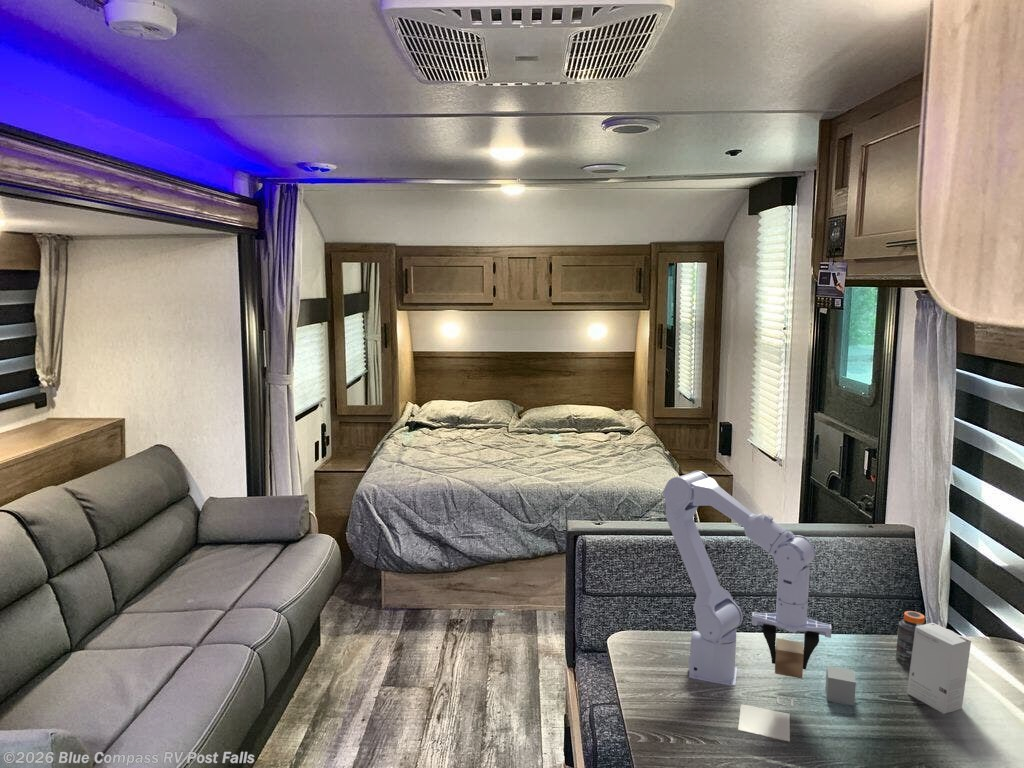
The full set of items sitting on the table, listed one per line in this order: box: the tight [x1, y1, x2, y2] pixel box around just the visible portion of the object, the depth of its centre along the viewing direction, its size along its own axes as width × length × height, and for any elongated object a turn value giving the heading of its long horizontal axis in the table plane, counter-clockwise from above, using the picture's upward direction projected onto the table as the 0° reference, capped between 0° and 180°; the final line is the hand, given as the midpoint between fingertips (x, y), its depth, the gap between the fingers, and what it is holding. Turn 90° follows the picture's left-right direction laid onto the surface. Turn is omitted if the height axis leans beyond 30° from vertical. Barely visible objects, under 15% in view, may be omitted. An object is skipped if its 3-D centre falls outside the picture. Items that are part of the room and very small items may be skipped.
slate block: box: [824, 665, 857, 707], centre depth 140 cm, size 5×5×5 cm
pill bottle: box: [895, 610, 926, 668], centre depth 154 cm, size 6×6×11 cm
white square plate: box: [737, 704, 791, 743], centre depth 132 cm, size 9×9×1 cm
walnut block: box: [774, 637, 804, 679], centre depth 137 cm, size 5×5×5 cm
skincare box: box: [906, 622, 972, 715], centre depth 138 cm, size 8×6×15 cm
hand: (788, 664), depth 137 cm, fingers closed on walnut block, 5 cm apart
